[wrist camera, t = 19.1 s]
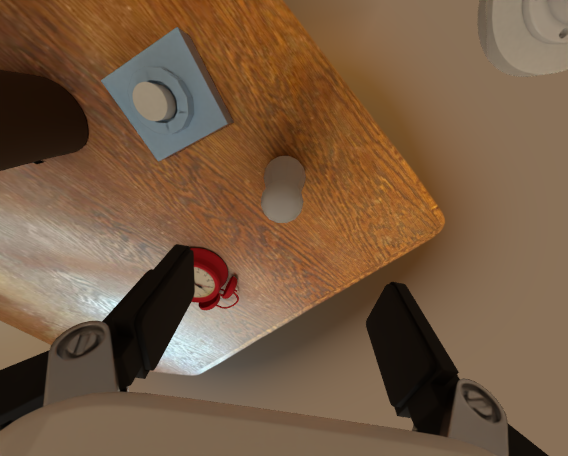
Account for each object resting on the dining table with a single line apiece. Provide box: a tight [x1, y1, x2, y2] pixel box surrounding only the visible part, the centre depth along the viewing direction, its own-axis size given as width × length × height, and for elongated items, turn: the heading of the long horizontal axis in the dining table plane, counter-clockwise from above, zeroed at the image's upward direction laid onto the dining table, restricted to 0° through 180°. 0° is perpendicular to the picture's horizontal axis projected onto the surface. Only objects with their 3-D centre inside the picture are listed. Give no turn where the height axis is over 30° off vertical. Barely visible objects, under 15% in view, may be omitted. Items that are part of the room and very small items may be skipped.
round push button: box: [132, 82, 176, 121], centre depth 24 cm, size 4×4×2 cm
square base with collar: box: [101, 27, 234, 161], centre depth 27 cm, size 11×10×5 cm
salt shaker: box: [261, 156, 306, 223], centre depth 27 cm, size 6×6×13 cm
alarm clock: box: [190, 248, 239, 310], centre depth 41 cm, size 10×6×15 cm
